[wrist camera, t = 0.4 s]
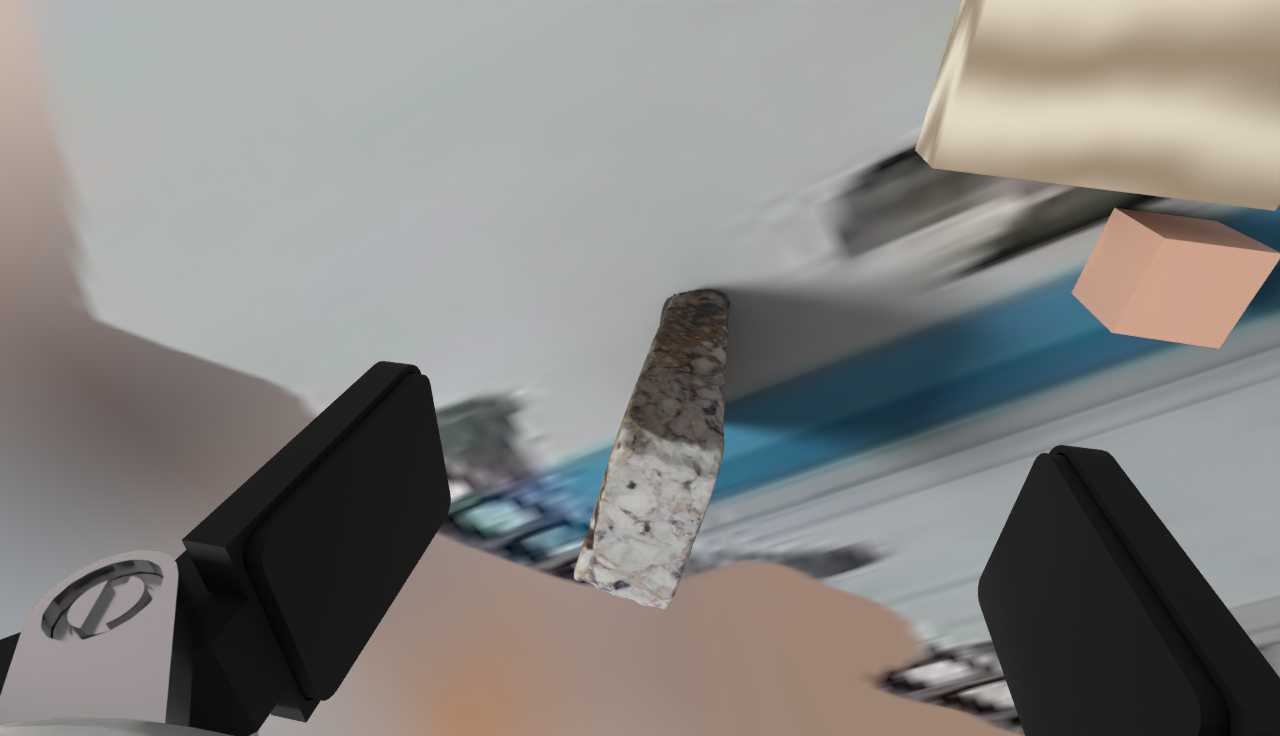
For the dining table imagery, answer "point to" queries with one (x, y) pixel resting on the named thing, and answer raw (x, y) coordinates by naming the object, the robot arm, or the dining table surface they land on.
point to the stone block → (662, 457)
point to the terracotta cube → (1172, 277)
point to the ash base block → (1114, 97)
